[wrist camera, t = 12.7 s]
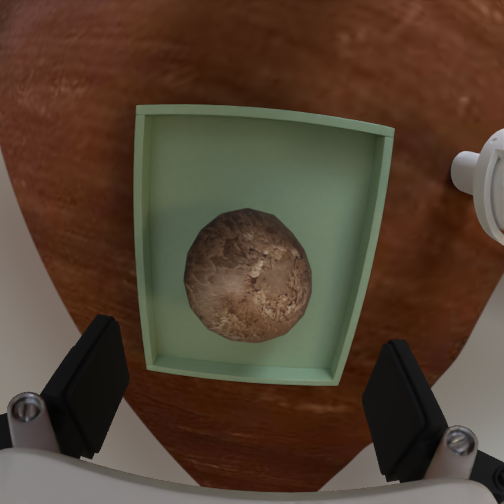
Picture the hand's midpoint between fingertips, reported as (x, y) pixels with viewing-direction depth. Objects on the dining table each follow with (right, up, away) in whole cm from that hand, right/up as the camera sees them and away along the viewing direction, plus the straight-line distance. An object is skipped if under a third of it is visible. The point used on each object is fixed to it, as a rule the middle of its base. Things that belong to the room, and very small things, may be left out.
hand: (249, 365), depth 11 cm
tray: (0, +4, +11) cm, 12 cm away
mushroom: (0, +3, +11) cm, 12 cm away
